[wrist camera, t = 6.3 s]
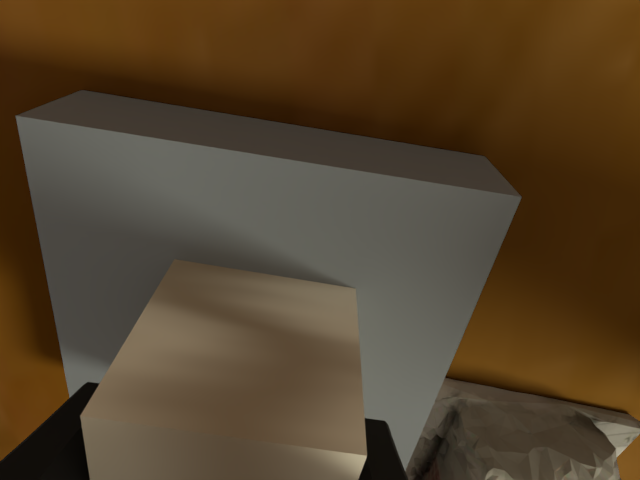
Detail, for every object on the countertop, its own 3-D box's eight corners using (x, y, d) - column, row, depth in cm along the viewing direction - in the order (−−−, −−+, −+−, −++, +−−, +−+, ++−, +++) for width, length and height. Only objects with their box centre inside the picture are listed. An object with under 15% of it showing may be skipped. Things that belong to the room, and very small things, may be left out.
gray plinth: (114, 379, 18) (78, 443, 16) (82, 89, 13) (15, 115, 10) (391, 416, 19) (400, 483, 16) (484, 155, 13) (522, 197, 11)
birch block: (173, 386, 14) (102, 559, 10) (174, 259, 12) (80, 415, 7) (323, 408, 15) (318, 585, 10) (355, 288, 12) (366, 455, 8)
